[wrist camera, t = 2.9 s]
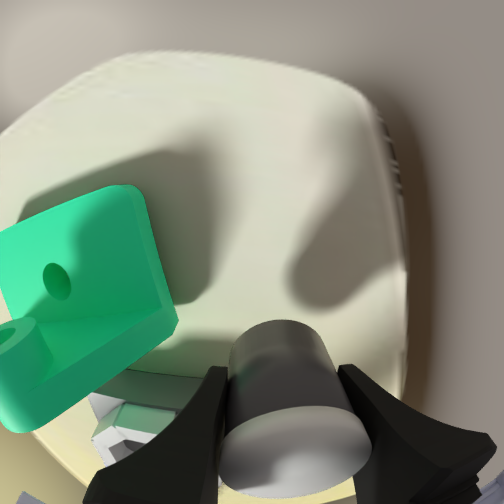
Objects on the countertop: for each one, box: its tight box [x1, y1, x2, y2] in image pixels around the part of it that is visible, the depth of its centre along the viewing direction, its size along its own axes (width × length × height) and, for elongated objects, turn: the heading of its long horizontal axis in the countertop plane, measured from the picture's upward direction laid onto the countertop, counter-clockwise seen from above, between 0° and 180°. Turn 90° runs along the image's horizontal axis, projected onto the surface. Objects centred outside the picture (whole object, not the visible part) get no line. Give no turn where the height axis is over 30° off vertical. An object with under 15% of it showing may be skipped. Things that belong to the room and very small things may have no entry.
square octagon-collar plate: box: [87, 369, 222, 487], centre depth 15 cm, size 9×9×5 cm
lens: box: [218, 320, 372, 499], centre depth 9 cm, size 5×5×6 cm
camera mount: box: [0, 184, 179, 433], centre depth 10 cm, size 12×8×10 cm, turn 101°
